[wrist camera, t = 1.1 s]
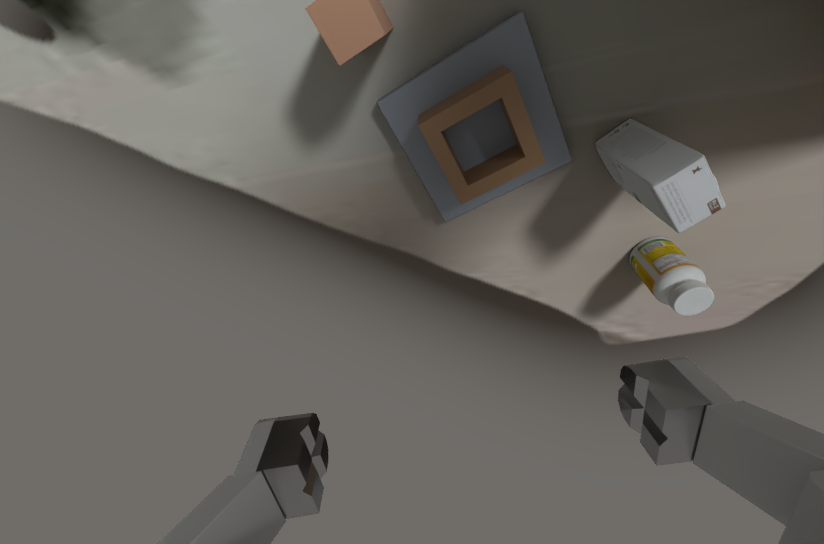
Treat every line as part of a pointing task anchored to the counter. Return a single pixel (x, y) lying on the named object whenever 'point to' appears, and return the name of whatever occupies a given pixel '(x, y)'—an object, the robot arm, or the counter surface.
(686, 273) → the supplement bottle
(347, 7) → the terracotta peg
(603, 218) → the counter surface
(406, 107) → the collar socket
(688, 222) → the skincare box
